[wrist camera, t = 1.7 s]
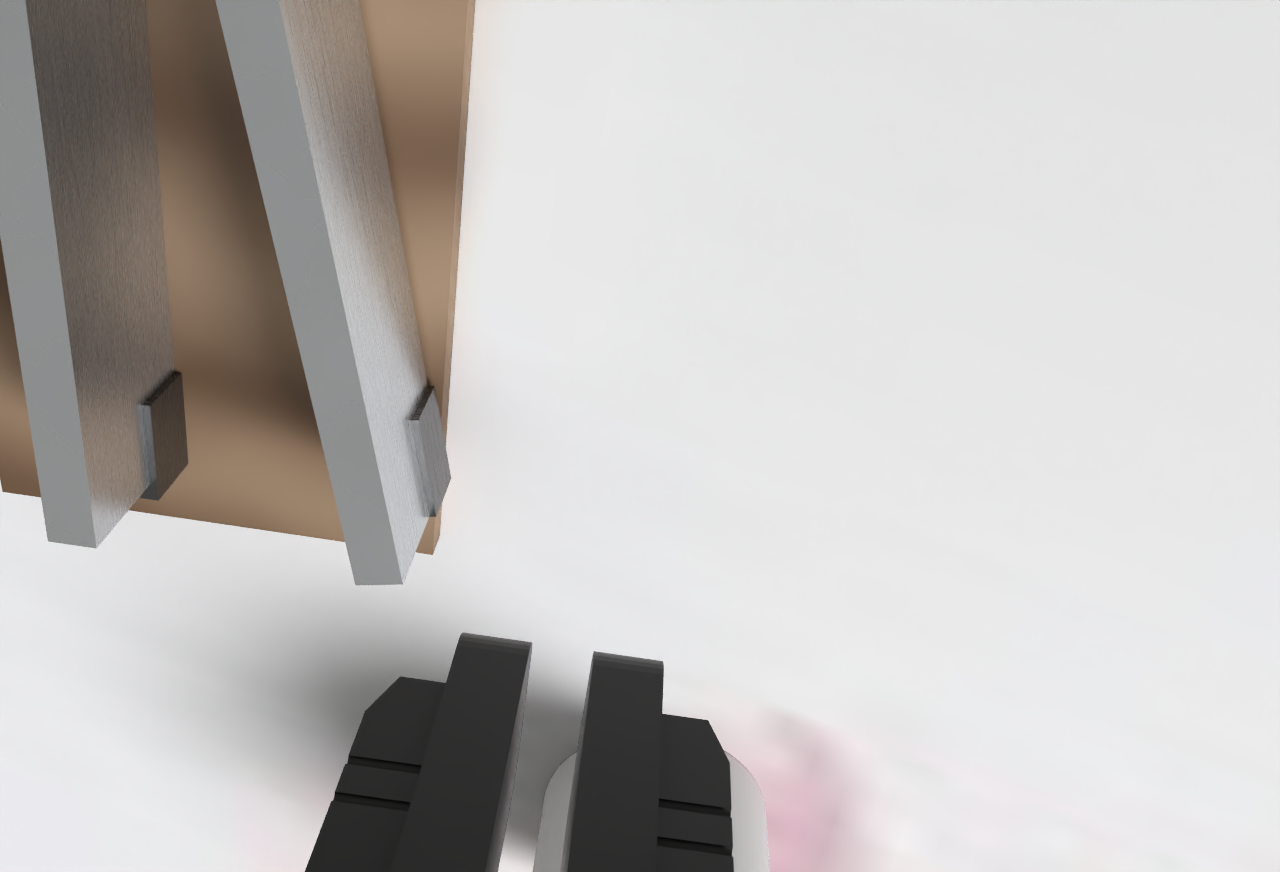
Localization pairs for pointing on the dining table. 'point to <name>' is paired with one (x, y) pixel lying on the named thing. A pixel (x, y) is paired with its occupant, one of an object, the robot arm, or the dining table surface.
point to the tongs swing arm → (342, 268)
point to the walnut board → (274, 265)
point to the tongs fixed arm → (88, 260)
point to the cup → (744, 813)
